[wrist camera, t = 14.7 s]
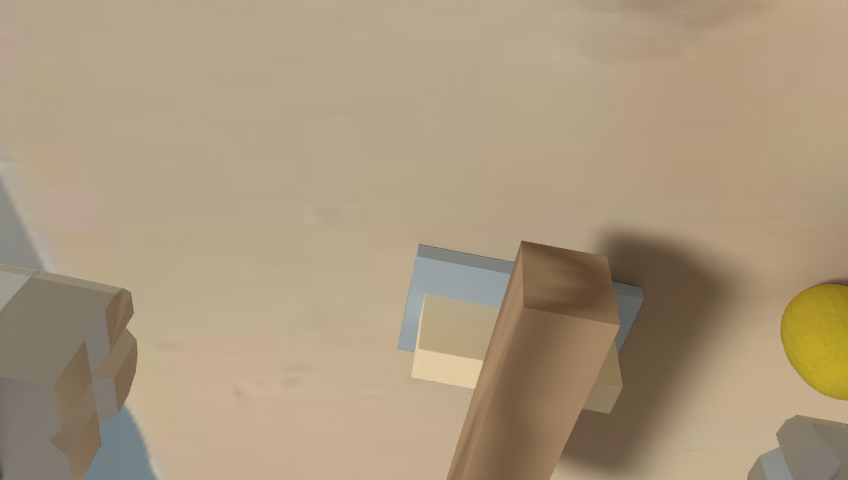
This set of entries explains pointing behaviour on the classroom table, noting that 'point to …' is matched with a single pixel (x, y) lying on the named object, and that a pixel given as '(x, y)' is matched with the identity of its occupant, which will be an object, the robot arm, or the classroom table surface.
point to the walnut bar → (538, 365)
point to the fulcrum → (483, 320)
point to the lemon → (819, 338)
